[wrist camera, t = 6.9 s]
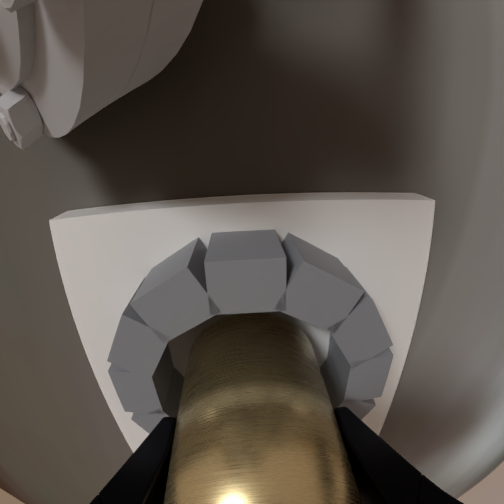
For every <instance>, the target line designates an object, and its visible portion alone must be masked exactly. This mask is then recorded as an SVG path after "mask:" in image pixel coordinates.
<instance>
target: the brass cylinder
mask: <svg viewBox="0 0 504 504" xmlns="http://www.w3.org/2000/svg"><path fill="white" fill-rule="evenodd" d="M164 504H362V501H361V498H360V494H359V491H358V488H357V484H356V481H355V478H354V474H353V471H352V468H351V465H350V461H349V458H348V455H347V452H346V448H345V445H344V442H343V439H342V436H341V433H340V429H339V426H338V423H337V420H336V417H335V414H334V411H333V408H332V405H331V401H330V398H329V395H328V392H327V389H326V386H325V383H324V380H323V377H322V374H321V371H320V368H319V365H318V362H317V359H316V356H315V353H314V350H313V347H312V345H311V342H310V340H309V338H308V337H307V335H306V334H305V333H304V332H303V331H302V330H301V329H300V328H299V327H298V326H296V325H295V324H293V323H292V322H290V321H288V320H286V319H284V318H281V317H279V316H276V315H271V314H266V313H241V314H236V315H231V316H228V317H225V318H222V319H220V320H218V321H216V322H214V323H212V324H211V325H209V326H208V327H207V328H205V329H204V330H203V331H202V332H201V333H200V334H199V335H198V336H197V338H196V339H195V341H194V342H193V344H192V346H191V349H190V353H189V357H188V362H187V368H186V373H185V378H184V383H183V389H182V394H181V399H180V405H179V411H178V416H177V422H176V428H175V434H174V440H173V446H172V452H171V458H170V464H169V471H168V477H167V484H166V491H165V498H164Z"/></svg>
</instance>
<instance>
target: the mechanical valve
mask: <svg viewBox="0 0 504 504" xmlns="http://www.w3.org/2000/svg"><path fill="white" fill-rule="evenodd" d="M202 2H203V0H0V92H1V93H2V96H1V97H0V125H1V127H2V129H3V131H4V133H5V134H6V135H7V137H8V138H9V140H10V141H13V142H14V143H15V144H16V145H17V146H18V147H19V148H20V149H22V150H25V149H27V148H28V147H29V146H30V145H31V144H33V143H34V142H35V141H36V140H38V139H39V138H40V137H41V136H42V134H43V135H45V136H47V137H55V138H59V137H62V136H64V135H66V134H68V133H69V132H70V131H72V130H73V129H74V128H76V127H77V126H78V125H80V124H81V123H83V122H84V121H85V120H87V119H88V118H90V117H91V116H92V115H94V114H95V113H97V112H98V111H100V110H101V109H103V108H104V107H106V106H107V105H109V104H110V103H112V102H114V101H115V100H117V99H118V98H120V97H122V96H123V95H125V94H127V93H128V92H130V91H132V90H134V89H135V88H137V87H139V86H141V85H142V84H144V83H146V82H148V81H149V80H150V79H152V78H153V77H154V76H156V75H157V74H159V73H160V72H161V71H162V70H163V69H164V68H165V67H166V66H167V64H168V63H169V62H170V61H171V60H172V59H173V58H174V57H175V55H176V54H177V53H178V51H179V50H180V48H181V46H182V45H183V43H184V41H185V40H186V38H187V36H188V35H189V33H190V31H191V29H192V26H193V24H194V21H195V19H196V16H197V14H198V12H199V9H200V7H201V5H202Z"/></svg>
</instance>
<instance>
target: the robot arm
mask: <svg viewBox="0 0 504 504" xmlns="http://www.w3.org/2000/svg"><path fill="white" fill-rule="evenodd" d="M333 411H334V414H335V417H336V420H337V423H338V426H339V429H340V433H341V436H342V439H343V442H344V445H345V448H346V452H347V455H348V458H349V461H350V465H351V468H352V471H353V474H354V478H355V481H356V484H357V488H358V491H359V494H360V498H361V501H362V504H463V503H462V502H460V501H458V500H457V499H455V498H454V497H452V496H450V495H449V494H447V493H446V492H444V491H443V490H442V489H440V488H439V487H438V486H436V485H435V484H434V483H433V482H431V481H430V480H429V479H428V478H426V477H425V476H424V475H422V474H421V473H420V472H419V471H418V470H417V469H416V468H415V467H413V466H412V465H411V464H410V463H409V462H408V461H407V460H405V459H404V458H403V457H402V456H401V455H400V454H398V453H397V452H396V451H395V450H394V449H393V448H392V447H391V446H389V445H388V444H387V443H386V442H385V441H384V440H383V439H382V438H380V437H379V436H378V435H377V434H376V433H375V432H374V431H373V430H372V429H370V428H369V427H368V426H367V425H366V424H365V423H364V422H363V421H362V420H361V419H360V418H358V417H357V416H356V415H355V414H354V413H353V412H352V411H351V410H350V409H349V408H348V407H345V406H343V407H336V408H333ZM176 422H177V417H163V418H162V419H161V421H160V422H159V423H158V424H157V425H156V427H155V428H154V429H153V430H152V431H151V433H150V434H149V435H148V436H147V437H146V439H145V440H144V441H143V442H142V443H141V445H140V446H139V447H138V448H137V449H136V451H135V452H134V453H133V454H132V455H131V457H130V458H129V459H128V460H127V461H126V462H125V464H124V465H123V466H122V467H121V468H120V470H119V471H118V472H117V473H116V474H115V475H114V477H113V478H112V479H111V480H110V481H109V482H108V483H107V485H106V486H105V487H104V488H103V489H102V490H101V492H100V493H99V495H97V496H96V497H95V498H94V499H93V500H92V502H91V503H90V504H164V498H165V491H166V484H167V477H168V471H169V464H170V458H171V452H172V446H173V440H174V434H175V428H176Z"/></svg>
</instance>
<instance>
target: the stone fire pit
mask: <svg viewBox="0 0 504 504" xmlns="http://www.w3.org/2000/svg"><path fill="white" fill-rule="evenodd" d="M434 209H435V200H433V199H430V198H428V197H425V196H422V195H419V194H417V193H395V192H318V193H280V194H255V195H234V196H217V197H202V198H188V199H175V200H163V201H152V202H141V203H131V204H121V205H112V206H103V207H94V208H86V209H78V210H70V211H67V212H65V213H63V214H61V215H59V216H57V217H55V218H53V219H51V220H49V223H50V228H51V234H52V238H53V243H54V248H55V252H56V257H57V261H58V265H59V269H60V273H61V277H62V281H63V284H64V288H65V291H66V295H67V298H68V302H69V305H70V308H71V311H72V315H73V318H74V321H75V324H76V327H77V330H78V333H79V335H80V338H81V341H82V344H83V346H84V349H85V352H86V354H87V357H88V359H89V362H90V364H91V367H92V369H93V372H94V374H95V377H96V379H97V381H98V384H99V386H100V388H101V390H102V393H103V395H104V397H105V399H106V401H107V403H108V406H109V408H110V410H111V412H112V414H113V416H114V418H115V420H116V422H117V424H118V426H119V428H120V430H121V431H122V433H123V435H124V437H125V439H126V441H127V443H128V444H129V446H130V448H131V450H132V451H133V453H134V452H135V451H136V449H137V448H138V447H139V446H140V445H141V443H142V442H143V441H144V440H145V439H146V437H147V436H148V435H149V434H150V433H151V431H152V430H153V429H154V428H155V427H156V425H157V424H158V423H159V422H160V421H161V419H162V418H163V417H177V416H178V411H179V405H180V399H181V394H182V389H183V383H184V378H185V373H186V368H187V362H188V357H189V353H190V349H191V346H192V344H193V342H194V341H195V339H196V338H197V336H198V335H199V334H200V333H201V332H202V331H203V330H204V329H205V328H207V327H208V326H209V325H211V324H212V323H214V322H216V321H218V320H220V319H222V318H225V317H228V316H231V315H236V314H241V313H266V314H271V315H276V316H279V317H281V318H284V319H286V320H288V321H290V322H292V323H293V324H295V325H296V326H298V327H299V328H300V329H301V330H302V331H303V332H304V333H305V334H306V335H307V337H308V338H309V340H310V342H311V345H312V347H313V350H314V353H315V356H316V359H317V362H318V365H319V368H320V371H321V374H322V377H323V380H324V383H325V386H326V389H327V392H328V395H329V398H330V401H331V405H332V408H336V407H343V406H345V407H348V408H349V409H350V410H351V411H352V412H353V413H354V414H355V415H356V416H357V417H358V418H360V419H361V420H362V421H363V422H364V423H365V424H366V425H367V426H368V427H369V428H370V429H372V430H373V431H374V432H375V433H376V434H377V435H378V436H379V434H380V431H381V429H382V426H383V424H384V421H385V419H386V416H387V414H388V411H389V408H390V406H391V403H392V400H393V397H394V394H395V391H396V389H397V386H398V383H399V379H400V376H401V373H402V370H403V367H404V363H405V360H406V357H407V353H408V350H409V346H410V342H411V339H412V335H413V331H414V327H415V323H416V319H417V315H418V310H419V306H420V301H421V296H422V291H423V286H424V281H425V276H426V270H427V264H428V258H429V251H430V244H431V236H432V228H433V219H434Z"/></svg>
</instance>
